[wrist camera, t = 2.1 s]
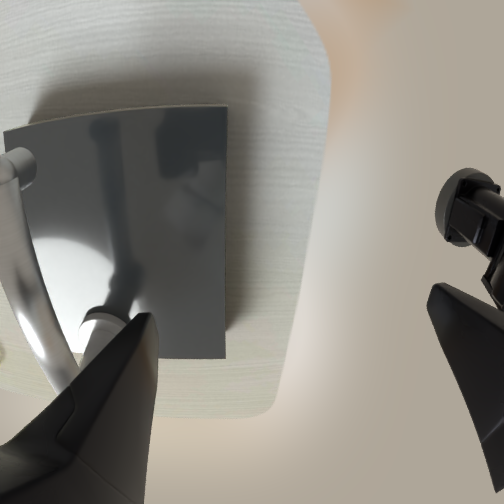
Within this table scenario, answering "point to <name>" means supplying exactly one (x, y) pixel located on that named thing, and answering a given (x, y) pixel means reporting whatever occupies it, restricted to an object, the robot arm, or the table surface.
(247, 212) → the table surface
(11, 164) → the spout
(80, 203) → the tap deck
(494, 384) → the robot arm
